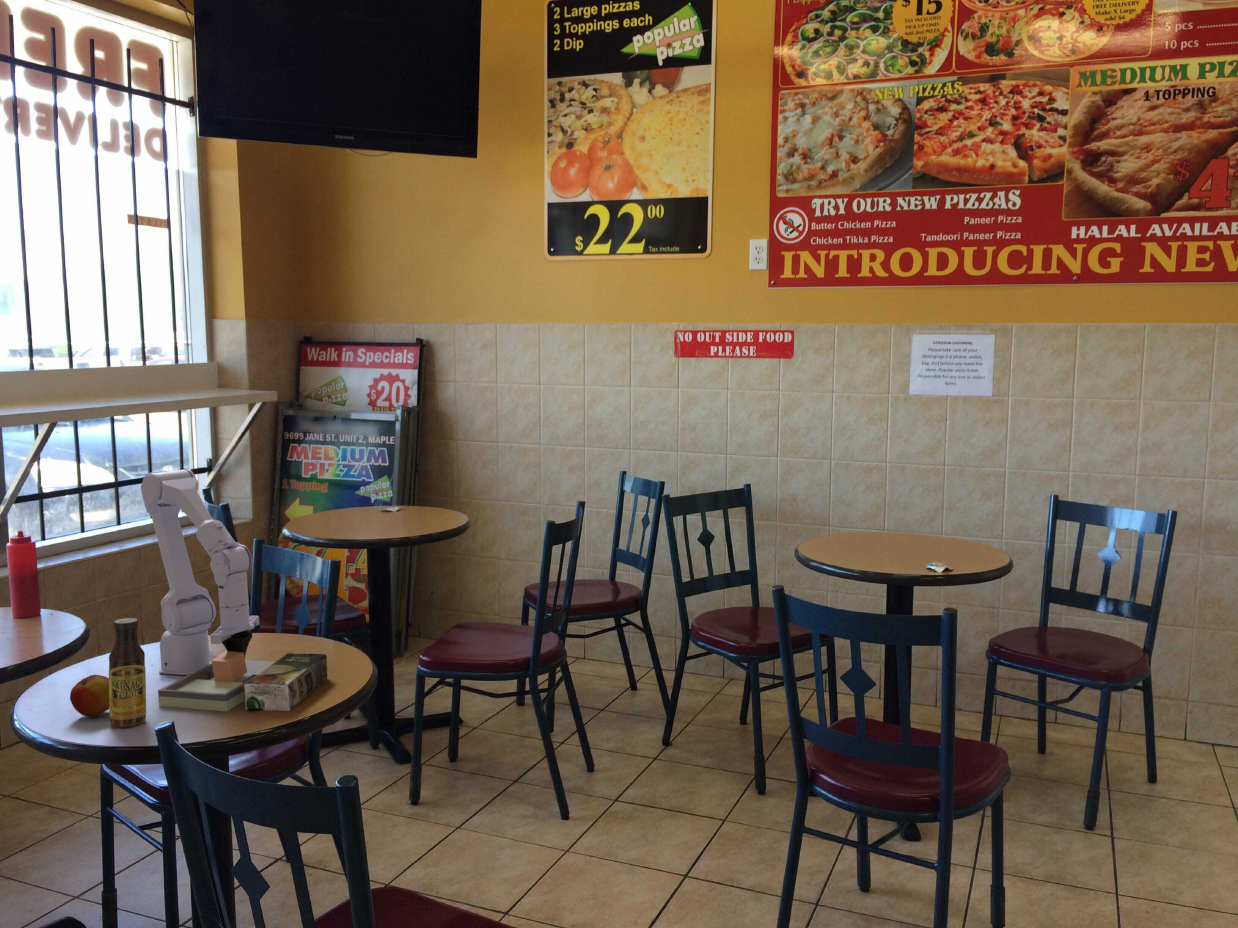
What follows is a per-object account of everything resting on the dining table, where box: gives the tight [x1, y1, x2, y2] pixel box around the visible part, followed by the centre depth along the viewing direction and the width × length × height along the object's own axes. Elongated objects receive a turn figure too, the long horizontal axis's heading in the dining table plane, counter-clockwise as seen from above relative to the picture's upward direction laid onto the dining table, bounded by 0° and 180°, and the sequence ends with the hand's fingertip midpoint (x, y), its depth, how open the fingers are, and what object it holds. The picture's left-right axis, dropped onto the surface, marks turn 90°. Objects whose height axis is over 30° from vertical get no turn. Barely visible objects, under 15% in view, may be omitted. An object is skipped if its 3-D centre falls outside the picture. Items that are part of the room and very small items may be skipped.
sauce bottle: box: [108, 617, 147, 729], centre depth 185 cm, size 7×6×20 cm
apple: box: [69, 674, 109, 718], centre depth 190 cm, size 8×8×8 cm
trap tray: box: [157, 659, 276, 712], centre depth 205 cm, size 15×24×3 cm, turn 168°
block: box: [211, 650, 247, 682], centre depth 205 cm, size 4×4×4 cm
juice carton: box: [244, 652, 328, 712], centre depth 201 cm, size 20×10×6 cm, turn 174°
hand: (238, 667), depth 208 cm, fingers closed, pressing on block
